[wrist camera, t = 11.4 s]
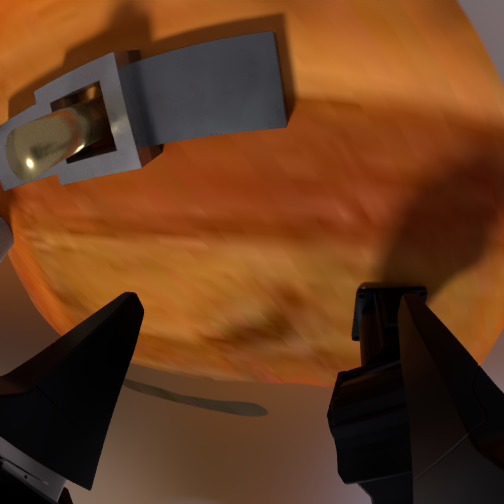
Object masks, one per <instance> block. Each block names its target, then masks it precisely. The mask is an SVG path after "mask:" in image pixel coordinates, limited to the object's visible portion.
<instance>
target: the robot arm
mask: <svg viewBox="0 0 504 504" xmlns="http://www.w3.org/2000/svg"><path fill="white" fill-rule="evenodd" d="M421 292H423V293H421ZM427 293H428V292H427V289H426V288H425V287H402V288H372V289H359V290H358V291H357V292H356V299H355V309H354V318H353V326H352V335H351V336H352V340H353V341H360V351H361V367H358V368H355V369H351V370H348V371H342V372H339V373H338V376H337V380H336V383H335V387H334V391H333V394H332V398H331V402H330V405H329V409H328V413H327V418H328V423H329V428H330V431H331V434H332V436H333V438H334V440H335V445H336V451H337V462H338V463H337V464H338V474H339V476H340V477H341V479H342V480H343V482H344V483H345V484H354V483H357V484H358V485H359V486H360V487H361V488H362V489H363V490H364V491H365V492H366V493H367V494H368V495H369V496H370V497H371V500H372V504H504V393H503V392H502V391H501V390H500V389H499V388H498V387H497V385H496V384H495V383H494V382H493V381H492V380H491V378H490V377H489V376H488V375H487V374H486V373H485V371H484V370H483V369H482V368H481V366H480V365H479V366H478V363H477V362H476V361H475V359H474V358H473V357H472V356H471V355H470V353H469V352H468V351H467V350H466V349H465V348H464V346H463V345H462V344H461V343H460V342H459V341H458V340H457V338H456V337H455V336H454V335H453V334H452V333H451V332H450V331H449V329H448V328H447V327H446V326H445V325H444V324H443V323H442V322H441V321H440V319H439V318H438V317H437V316H436V315H435V314H434V313H433V312H432V311H431V310H430V309H429V308H428V307H427V305H426V304H425V301H426V297H427ZM361 294H364V295H361ZM143 316H144V308H143V306H142V304H141V302H140V300H139V298H138V296H137V294H136V293H134V292H124V293H123V294H121V295H120V296H118V297H117V298H116V299H114V300H113V301H111V302H110V303H108V304H107V305H105V306H104V307H103V308H101V309H100V310H98V311H97V312H95V313H94V314H93V315H91V316H90V317H88V318H87V319H86V320H84V321H83V322H81V323H80V324H79V325H77V326H76V327H74V328H73V329H72V330H70V331H69V332H67V333H66V334H65V335H63V336H62V337H61V338H59V339H58V340H56V341H55V343H52V344H51V345H50V346H48V347H47V348H45V349H44V350H43V351H41V352H40V353H38V354H37V355H36V356H34V357H33V358H31V359H29V360H28V361H26V362H25V363H23V364H22V365H20V366H19V367H17V368H15V369H14V370H13V371H11V372H9V373H7V374H5V375H3V376H0V504H73V502H72V500H71V497H70V494H69V491H68V489H67V488H65V487H64V485H65V483H66V480H67V479H68V480H70V481H71V482H73V483H75V484H77V485H79V486H81V487H83V488H85V489H87V490H91V488H92V485H93V481H94V477H95V473H96V469H97V466H98V462H99V458H100V455H101V451H102V448H103V444H104V441H105V437H106V434H107V431H108V427H109V424H110V421H111V418H112V415H113V412H114V408H115V405H116V402H117V399H118V396H119V393H120V390H121V387H122V384H123V381H124V378H125V375H126V373H127V370H128V367H129V364H130V361H131V359H132V356H133V353H134V350H135V346H136V343H137V339H138V335H139V331H140V327H141V324H142V320H143Z"/></svg>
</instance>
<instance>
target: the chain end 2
mask: <svg viewBox="0 0 504 504" xmlns="http://www.w3.org/2000/svg"><path fill="white" fill-rule="evenodd" d="M127 52H128V57H129V62H130V67H131V72H132V77H133V81H134V86H135V91H136V95H137V99H138V104H139V108H140V112H141V117H142V121H143V125H144V129H145V133H146V137H147V141H148V145H149V148H150V152H151V156H152V160H153V159H154V158H156V157H157V156H158V155H160V154H161V153H162V150H161V146H160V144H164V143H169V142H175V141H180V140H186V139H192V138H199V137H205V136H212V135H220V134H227V133H235V132H244V131H253V130H263V129H275V128H287V125H288V116H287V108H286V100H285V92H284V85H283V78H282V71H281V64H280V57H279V51H278V44H277V38H276V33H275V32H273V31H268V32H260V33H253V34H246V35H240V36H234V37H229V38H224V39H219V40H214V41H209V42H204V43H200V44H196V45H192V46H188V47H184V48H180V49H176V50H173V51H169V52H166V53H162V54H159V55H156V56H152V57H149V58H146V59H143V60H141V56H140V51H139V50H129V51H127ZM99 84H100V83H97V84H95V85H92V86H90V87H88V88H85V89H83V90H81V91H78V92H76V93H74V94H72V95H69V96H67V97H65V98H64V102H65V106H66V107H68V106H71V105H74V104H77V103H78V99H77V94H78V93H80V92H83V91H85V90H87V89H90V88H92V87H94V86H97V85H99ZM113 147H116V145H115V144H111V145H107V146H103V147H100V148H96V149H93V150H91V147H90V145H89V146H87V147H85V148H83V149H82V150H80V151H78V153H79V156H84V155H87V154H91V153H94V152H98V151H102V150H105V149H109V148H113Z"/></svg>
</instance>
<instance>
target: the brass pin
mask: <svg viewBox="0 0 504 504" xmlns="http://www.w3.org/2000/svg"><path fill="white" fill-rule="evenodd" d="M110 134H112V130H111V126H110V122H109V119H108V115H107V111H106V107H105V102H104V98H103V95H101V96H98V97H95V98H92V99H89V100H86V101H83V102H80V103H77V104H74V105H71V106H68V107H66V108H63V109H60V110H58V111H55V112H53V113H50V114H48V115H45V116H43V117H40V118H38V119H35V120H33V121H31V122H28V123H26V124H24V125H22V126H20V127H17V128H15V129H13V130H12V131H11V132H10V133H9V135H8V137H7V140H6V147H5V149H6V157H7V161H8V164H9V166H10V168H11V170H12V171H13V173H14V174H15V175H16V176H17V177H18V178H19V179H21V180H23V181H31V180H33V179H34V178H36V177H37V176H39V175H40V174H42V173H43V172H45V171H47V170H48V169H50V168H51V167H53V166H55V165H56V164H58V163H59V162H61V161H63V160H64V159H66V158H68V157H70V156H71V155H73V154H75V153H76V152H78V151H80V150H82V149H83V148H85V147H87V146H89V145H91V144H93V143H94V142H96V141H98V140H100V139H102V138H104V137H106V136H108V135H110Z"/></svg>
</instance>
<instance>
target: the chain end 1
mask: <svg viewBox="0 0 504 504" xmlns="http://www.w3.org/2000/svg"><path fill="white" fill-rule="evenodd" d="M97 83H100V85H101V90H102V94H103V98H104V102H105V107H106V111H107V115H108V119H109V122H110V126H111V130H112V134H113V137H114V141H115V145H116V147H113V148H109V149H105V150H102V151H98V152H94V153H91V154H87V155H84V156H79V153H78V152H76V153H75V154H73V155H71V156H70V157H68V158H66V159H64V160H63V161H61V162H59V163H58V164H56V165H55V166H53V167H51V168H50V169H48V170H47V171H45V172H43V173H42V174H40V175H39V176H37V177H36V178H34V179H33V180H31V181H23V180H21V179H19V178H18V177H17V176H16V175H15V174H14V173H13V171H12V170H11V168H10V166H9V164H8V161H7V157H6V149H5V147H6V140H7V137H8V135H9V133H10V132H11V131H12V130H13V129H15V128H17V127H20V126H22V125H24V124H26V123H28V122H31V121H33V120H35V119H38V118H40V117H43V116H45V115H48V114H50V113H53V112H55V111H58V110H60V109H63V108H66V106H65V102H64V98H65V97H67V96H69V95H72V94H74V93H76V92H78V91H81V90H83V89H85V88H88V87H90V86H92V85H95V84H97ZM34 96H35V100H36V104H34V105H33V106H31V107H29V108H27V109H26V110H24V111H22V112H21V113H19V114H17V115H16V116H14V117H13V118H11V119H9V120H8V121H6V122H5V123H3V124H2V125H0V182H1V185H2V187H3V190H4V191H5V190H8V189H11V188H14V187H17V186H20V185H23V184H26V183H29V182H32V181H35V180H38V179H41V178H44V177H48V176H51V175H54V174H57V175H58V178H59V181H60V183H61V185H64V184H68V183H72V182H76V181H80V180H85V179H89V178H94V177H98V176H103V175H108V174H113V173H118V172H123V171H128V170H134V169H139V168H142V167H144V166H145V165H146V164H148V163H149V162H150V161H152V156H151V152H150V148H149V145H148V141H147V137H146V133H145V129H144V125H143V121H142V117H141V112H140V108H139V104H138V99H137V95H136V91H135V86H134V81H133V77H132V72H131V67H130V62H129V57H128V52H127V51H115V52H111V53H109V54H107V55H104V56H102V57H100V58H97V59H95V60H93V61H91V62H89V63H87V64H84V65H82V66H80V67H78V68H76V69H74V70H72V71H70V72H68V73H66V74H64V75H62V76H61V77H59V78H57V79H55V80H53V81H51V82H50V83H48V84H46V85H44V86H43V87H41V88H39V89H37V90H36V91H34Z"/></svg>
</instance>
